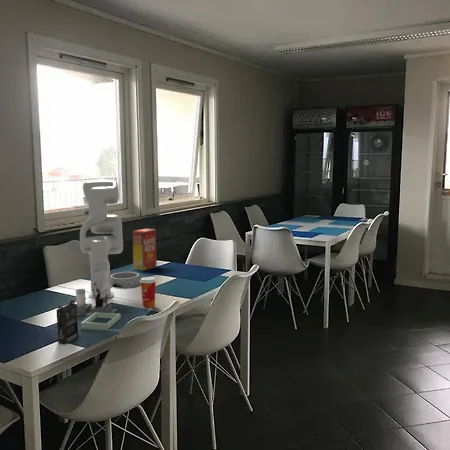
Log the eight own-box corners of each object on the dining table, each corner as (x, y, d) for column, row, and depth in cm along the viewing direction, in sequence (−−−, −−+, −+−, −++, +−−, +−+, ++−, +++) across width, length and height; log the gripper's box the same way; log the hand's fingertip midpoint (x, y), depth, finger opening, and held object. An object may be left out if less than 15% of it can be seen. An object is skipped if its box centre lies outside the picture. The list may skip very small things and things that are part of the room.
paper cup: (139, 305, 246) (138, 277, 244) (154, 303, 249) (153, 275, 247) (143, 310, 239) (142, 281, 237) (158, 307, 242) (158, 279, 240)
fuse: (79, 309, 237) (78, 288, 236) (87, 309, 236) (86, 288, 235) (75, 311, 233) (74, 290, 232) (83, 312, 232) (82, 291, 231)
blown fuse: (99, 310, 235) (98, 289, 234) (107, 310, 235) (106, 289, 233) (95, 313, 231) (94, 291, 230) (104, 313, 231) (103, 292, 229)
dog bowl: (131, 289, 277) (131, 279, 276) (102, 286, 283) (102, 277, 282) (146, 281, 293) (146, 272, 292) (118, 279, 298) (118, 270, 298)
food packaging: (143, 271, 318) (142, 231, 314) (132, 269, 323) (131, 230, 319) (157, 267, 329) (156, 229, 325) (146, 265, 334) (145, 228, 330)
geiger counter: (70, 334, 207) (68, 299, 204) (80, 335, 205) (78, 300, 203) (54, 343, 197) (52, 306, 195) (64, 345, 195) (62, 307, 193)
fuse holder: (74, 309, 241) (74, 301, 240) (118, 311, 237) (118, 304, 236) (64, 315, 231) (64, 308, 231) (109, 318, 227) (109, 310, 227)
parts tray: (95, 318, 226) (95, 312, 226) (120, 320, 224) (120, 313, 224) (81, 329, 213) (81, 322, 212) (108, 331, 211) (107, 324, 210)
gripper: (99, 262, 239) (101, 299, 241) (83, 270, 222) (85, 310, 225) (114, 262, 237) (116, 300, 240) (99, 271, 221) (101, 311, 224)
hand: (101, 304), depth 233 cm, fingers closed on blown fuse, 4 cm apart
